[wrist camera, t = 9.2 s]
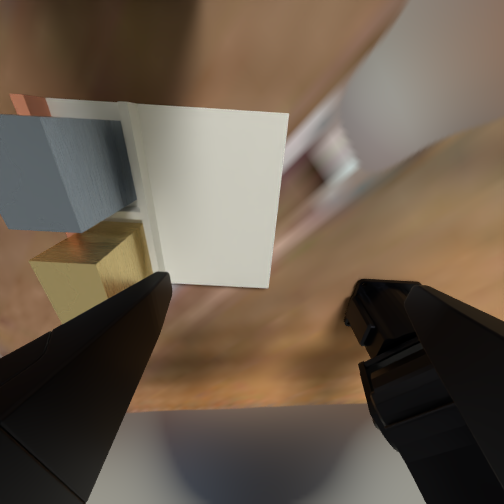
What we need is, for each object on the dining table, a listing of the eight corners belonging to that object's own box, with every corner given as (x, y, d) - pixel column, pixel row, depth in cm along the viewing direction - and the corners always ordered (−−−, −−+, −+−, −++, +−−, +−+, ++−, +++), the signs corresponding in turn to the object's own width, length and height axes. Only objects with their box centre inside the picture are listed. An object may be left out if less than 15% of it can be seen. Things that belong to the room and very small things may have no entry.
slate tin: (120, 120, 15) (39, 116, 9) (136, 199, 18) (81, 233, 12) (59, 116, 15) (-60, 110, 9) (85, 196, 18) (5, 229, 12)
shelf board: (287, 114, 16) (292, 112, 13) (267, 282, 23) (269, 299, 21) (45, 98, 15) (9, 93, 13) (105, 273, 23) (88, 289, 20)
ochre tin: (143, 223, 19) (95, 264, 13) (154, 275, 22) (118, 327, 16) (95, 220, 19) (25, 260, 13) (112, 272, 21) (60, 324, 16)
